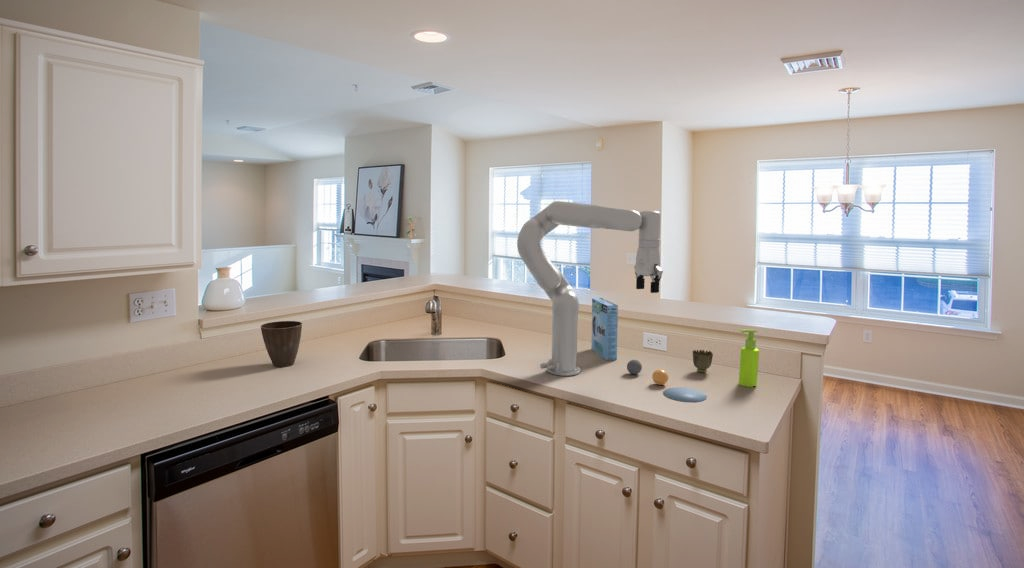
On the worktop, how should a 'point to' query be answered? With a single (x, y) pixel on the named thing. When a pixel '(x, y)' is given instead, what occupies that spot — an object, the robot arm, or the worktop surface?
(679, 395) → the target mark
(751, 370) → the soap dispenser
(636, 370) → the grey sphere
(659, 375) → the object ball
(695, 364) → the cup
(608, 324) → the gum box
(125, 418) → the worktop surface
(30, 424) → the worktop surface
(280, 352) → the plant pot
